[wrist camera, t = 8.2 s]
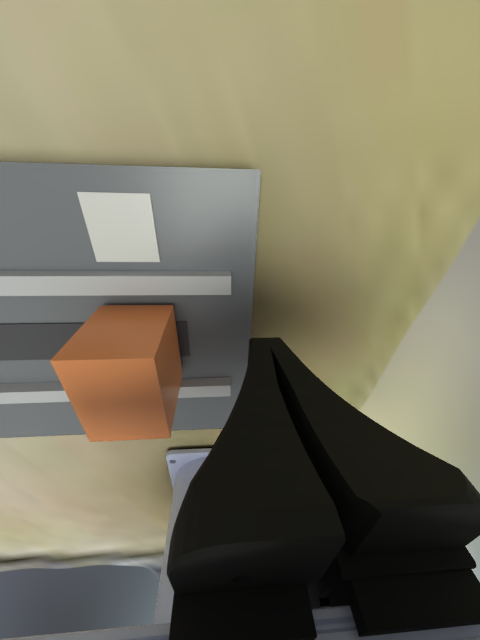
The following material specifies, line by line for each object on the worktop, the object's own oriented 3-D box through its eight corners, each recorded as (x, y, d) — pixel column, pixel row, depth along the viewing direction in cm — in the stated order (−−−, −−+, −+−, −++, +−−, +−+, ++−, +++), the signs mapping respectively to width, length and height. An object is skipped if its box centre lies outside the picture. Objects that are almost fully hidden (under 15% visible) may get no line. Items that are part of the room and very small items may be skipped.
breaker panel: (243, 402, 17) (246, 436, 15) (-97, 414, 16) (-149, 454, 13) (254, 170, 10) (263, 169, 8) (-374, 150, 8) (-586, 143, 6)
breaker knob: (182, 374, 12) (170, 438, 9) (122, 375, 12) (90, 441, 9) (173, 305, 10) (154, 358, 7) (100, 305, 10) (49, 361, 7)
